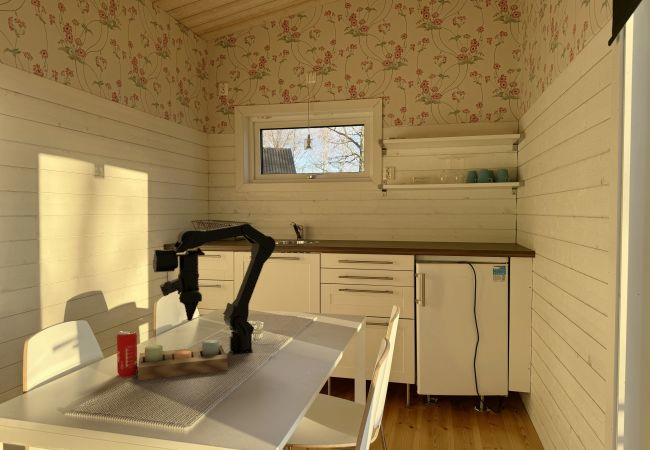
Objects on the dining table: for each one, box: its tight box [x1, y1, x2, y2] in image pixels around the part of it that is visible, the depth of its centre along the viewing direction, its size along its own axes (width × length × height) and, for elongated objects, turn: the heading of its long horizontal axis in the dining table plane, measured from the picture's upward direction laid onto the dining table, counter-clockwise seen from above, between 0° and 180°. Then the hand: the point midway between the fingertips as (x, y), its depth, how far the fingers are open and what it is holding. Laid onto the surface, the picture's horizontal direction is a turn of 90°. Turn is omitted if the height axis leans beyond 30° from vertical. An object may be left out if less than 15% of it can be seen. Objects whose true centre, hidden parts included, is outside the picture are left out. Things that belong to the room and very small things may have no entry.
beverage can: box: [116, 329, 138, 378], centre depth 133 cm, size 5×5×12 cm
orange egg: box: [174, 351, 191, 359], centre depth 139 cm, size 5×5×4 cm
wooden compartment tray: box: [137, 345, 229, 381], centre depth 139 cm, size 24×14×4 cm, turn 109°
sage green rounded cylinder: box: [201, 339, 220, 357], centre depth 142 cm, size 5×5×4 cm
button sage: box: [144, 344, 164, 362], centre depth 136 cm, size 5×5×4 cm
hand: (189, 320), depth 147 cm, fingers closed
